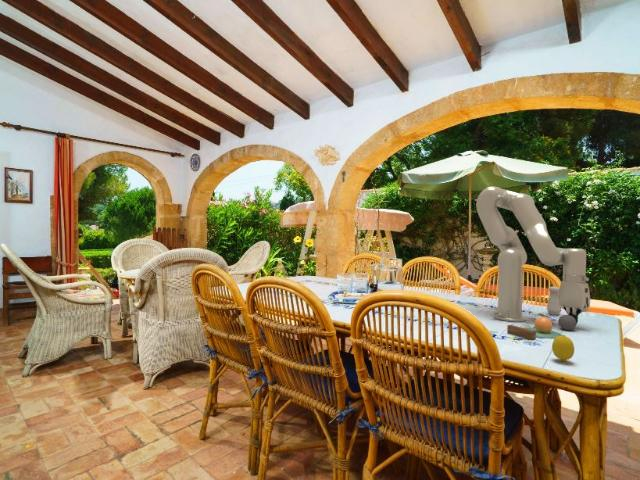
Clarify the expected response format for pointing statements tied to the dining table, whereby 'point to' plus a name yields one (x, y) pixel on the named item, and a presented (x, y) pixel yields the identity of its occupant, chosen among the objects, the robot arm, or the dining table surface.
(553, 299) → the salt shaker
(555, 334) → the green mark
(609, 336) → the dining table surface
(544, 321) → the orange ball
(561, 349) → the lemon
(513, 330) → the stopper wall
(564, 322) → the charcoal ball
